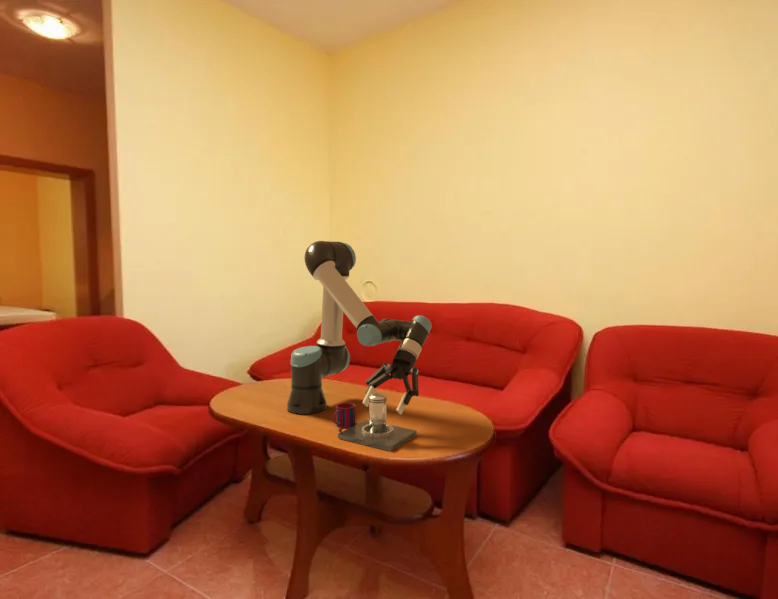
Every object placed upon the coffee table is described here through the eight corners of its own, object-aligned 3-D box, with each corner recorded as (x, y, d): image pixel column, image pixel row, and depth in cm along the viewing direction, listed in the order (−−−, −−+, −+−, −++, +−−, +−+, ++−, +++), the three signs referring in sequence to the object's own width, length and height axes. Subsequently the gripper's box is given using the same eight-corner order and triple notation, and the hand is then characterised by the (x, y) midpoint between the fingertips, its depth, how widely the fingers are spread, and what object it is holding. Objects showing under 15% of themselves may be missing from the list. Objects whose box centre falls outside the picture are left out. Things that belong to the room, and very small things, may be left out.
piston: (366, 430, 154) (366, 394, 153) (383, 428, 156) (383, 392, 155) (371, 436, 148) (371, 399, 147) (389, 434, 150) (389, 397, 149)
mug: (359, 424, 164) (359, 404, 164) (339, 432, 156) (339, 412, 156) (345, 420, 168) (345, 401, 168) (325, 427, 161) (325, 408, 160)
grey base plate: (337, 438, 151) (337, 430, 150) (366, 424, 164) (366, 416, 164) (391, 451, 140) (391, 442, 140) (416, 435, 154) (416, 426, 153)
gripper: (442, 365, 158) (418, 422, 147) (382, 356, 172) (356, 407, 162) (434, 352, 153) (409, 409, 142) (373, 344, 168) (346, 395, 157)
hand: (381, 408), depth 152 cm, fingers open, 13 cm apart
